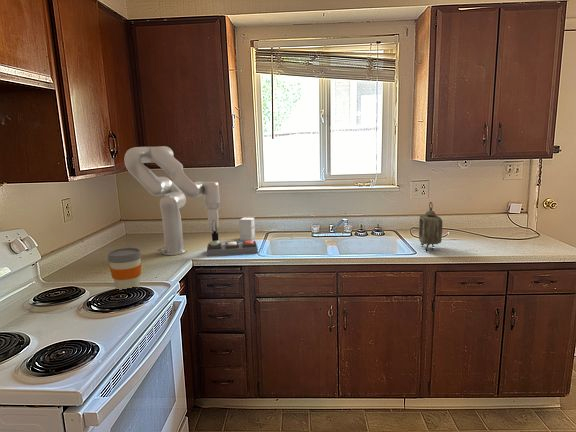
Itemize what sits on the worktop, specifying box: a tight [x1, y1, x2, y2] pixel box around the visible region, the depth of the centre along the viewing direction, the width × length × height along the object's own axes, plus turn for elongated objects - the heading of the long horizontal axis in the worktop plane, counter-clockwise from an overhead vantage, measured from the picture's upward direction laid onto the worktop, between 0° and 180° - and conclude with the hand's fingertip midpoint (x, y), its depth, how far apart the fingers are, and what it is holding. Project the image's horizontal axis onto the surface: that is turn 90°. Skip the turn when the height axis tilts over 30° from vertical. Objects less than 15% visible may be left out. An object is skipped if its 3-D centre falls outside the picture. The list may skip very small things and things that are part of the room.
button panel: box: [206, 240, 259, 257], centre depth 214 cm, size 26×10×4 cm, turn 99°
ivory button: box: [227, 241, 238, 245], centre depth 214 cm, size 5×5×2 cm
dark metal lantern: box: [418, 201, 443, 251], centre depth 211 cm, size 14×9×25 cm, turn 171°
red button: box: [244, 240, 255, 244], centre depth 215 cm, size 5×5×2 cm
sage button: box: [209, 239, 220, 246], centre depth 212 cm, size 5×5×2 cm
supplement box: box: [238, 217, 256, 241], centre depth 239 cm, size 7×7×13 cm
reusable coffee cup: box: [107, 247, 142, 290], centre depth 165 cm, size 13×13×15 cm
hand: (215, 240), depth 212 cm, fingers closed
